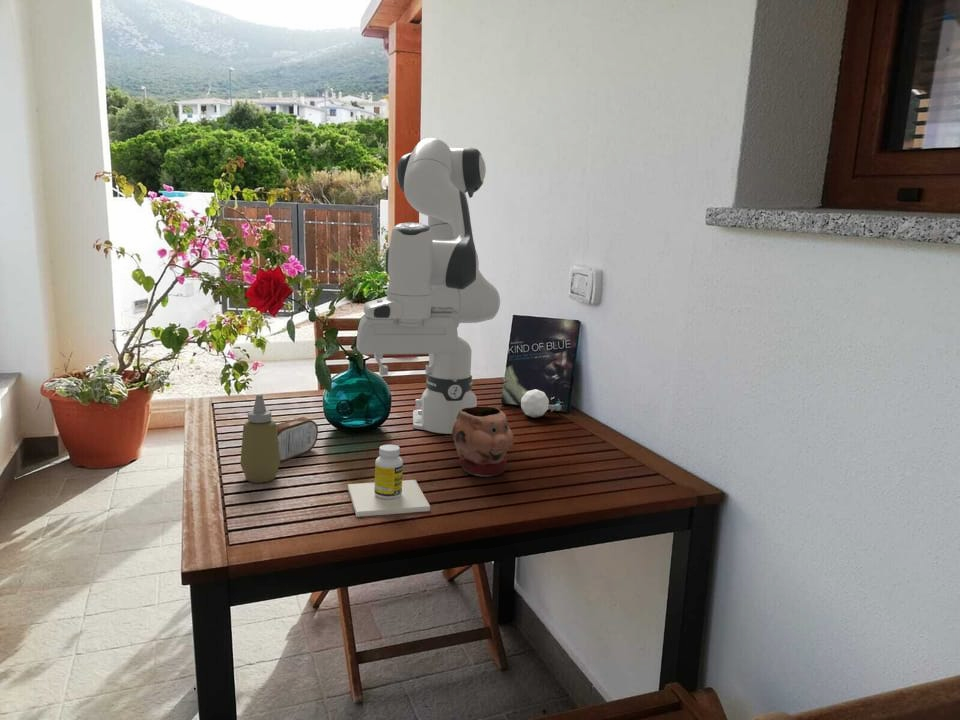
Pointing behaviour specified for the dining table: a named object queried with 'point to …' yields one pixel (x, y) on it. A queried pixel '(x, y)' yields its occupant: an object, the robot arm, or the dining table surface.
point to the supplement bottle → (388, 472)
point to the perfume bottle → (536, 403)
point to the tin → (296, 437)
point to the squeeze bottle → (260, 445)
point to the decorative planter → (482, 440)
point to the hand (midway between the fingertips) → (406, 374)
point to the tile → (387, 500)
